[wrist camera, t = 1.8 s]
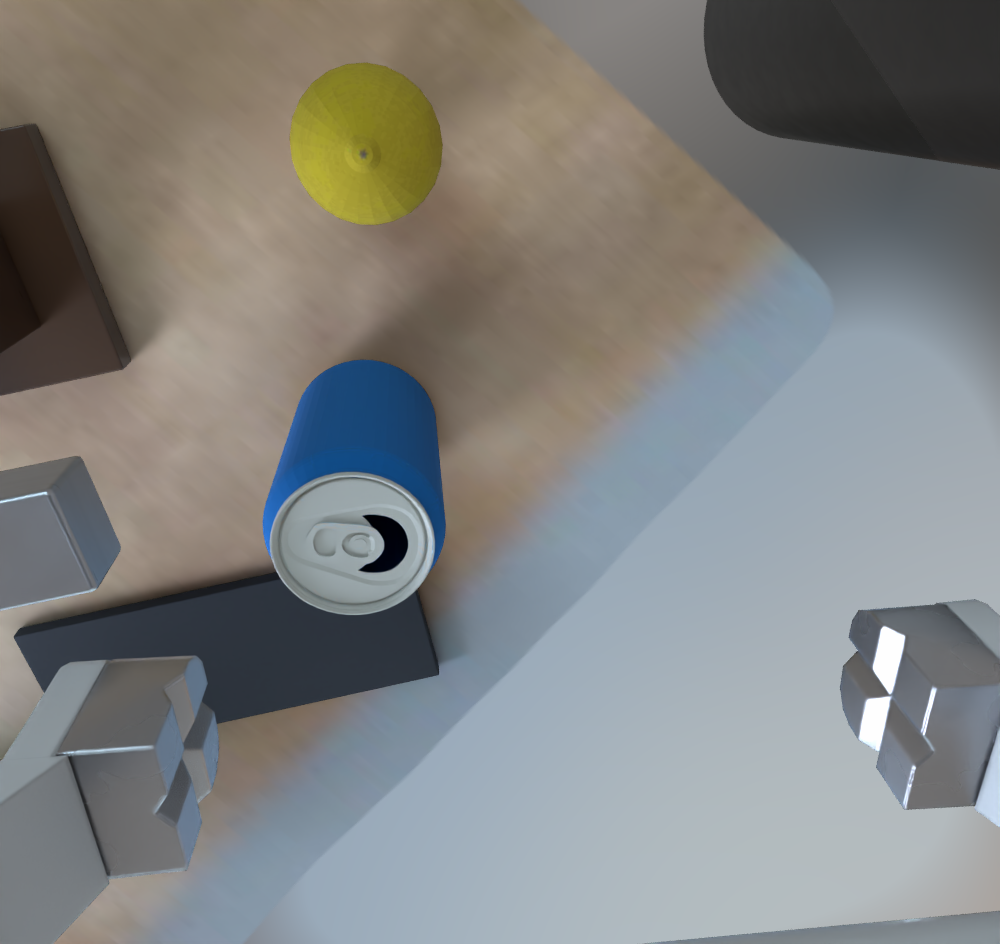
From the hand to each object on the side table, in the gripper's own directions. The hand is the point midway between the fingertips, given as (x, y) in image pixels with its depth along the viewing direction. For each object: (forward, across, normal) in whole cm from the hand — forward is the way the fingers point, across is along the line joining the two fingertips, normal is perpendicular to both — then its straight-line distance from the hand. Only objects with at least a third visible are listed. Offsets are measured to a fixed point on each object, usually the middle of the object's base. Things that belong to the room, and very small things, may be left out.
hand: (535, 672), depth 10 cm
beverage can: (+29, +5, +8) cm, 30 cm away
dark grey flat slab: (+28, +13, +20) cm, 37 cm away
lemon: (+29, +3, -4) cm, 30 cm away
